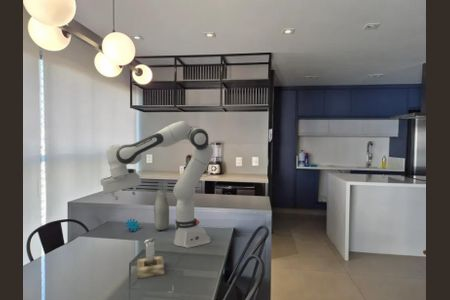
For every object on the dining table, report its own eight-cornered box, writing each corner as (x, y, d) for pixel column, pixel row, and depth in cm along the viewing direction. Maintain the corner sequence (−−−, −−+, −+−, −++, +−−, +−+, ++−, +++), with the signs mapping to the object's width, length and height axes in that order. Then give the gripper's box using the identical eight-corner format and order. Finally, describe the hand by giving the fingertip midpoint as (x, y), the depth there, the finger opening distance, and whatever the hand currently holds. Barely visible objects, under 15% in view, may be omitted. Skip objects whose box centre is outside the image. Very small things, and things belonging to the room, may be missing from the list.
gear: (129, 231, 174) (124, 218, 179) (125, 236, 177) (120, 223, 182) (143, 229, 183) (138, 217, 188) (139, 234, 185) (135, 222, 190)
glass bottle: (164, 226, 190) (163, 188, 189) (171, 229, 182) (171, 190, 181) (151, 229, 183) (151, 190, 182) (159, 233, 175) (158, 192, 174)
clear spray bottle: (152, 265, 130) (152, 235, 129) (158, 267, 128) (158, 236, 127) (141, 272, 123) (141, 240, 122) (148, 274, 121) (147, 242, 121)
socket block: (162, 262, 133) (162, 255, 133) (164, 273, 122) (164, 266, 121) (137, 266, 129) (137, 259, 129) (137, 278, 118) (137, 270, 118)
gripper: (99, 177, 139) (105, 202, 138) (138, 168, 148) (144, 192, 147) (99, 178, 145) (105, 203, 143) (137, 169, 154) (143, 192, 152)
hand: (125, 197), depth 145 cm, fingers open, 8 cm apart
